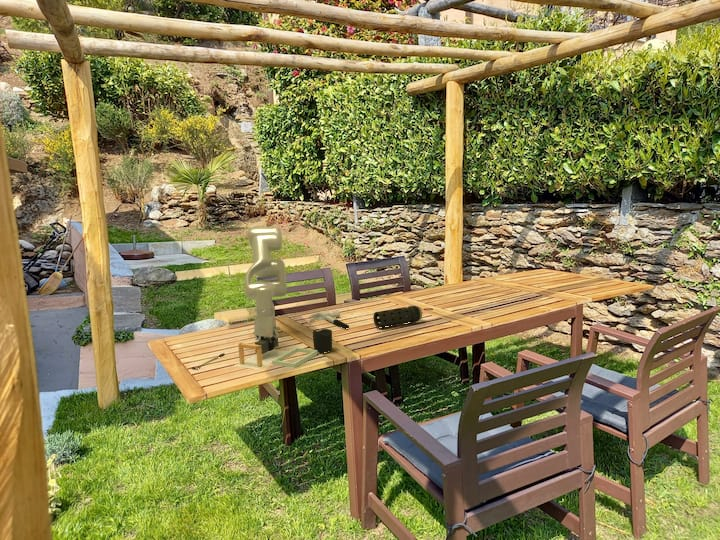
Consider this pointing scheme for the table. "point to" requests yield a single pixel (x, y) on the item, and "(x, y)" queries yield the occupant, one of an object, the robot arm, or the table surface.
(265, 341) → the dark grey block
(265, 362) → the board
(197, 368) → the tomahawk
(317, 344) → the pen holder
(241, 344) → the orange pull handle
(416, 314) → the muzzle brake
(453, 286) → the table surface
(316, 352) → the tray
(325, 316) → the claw hammer
